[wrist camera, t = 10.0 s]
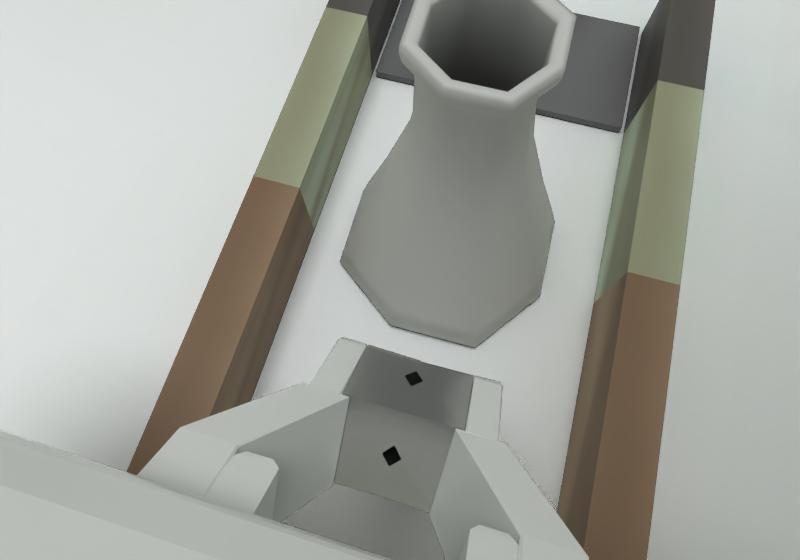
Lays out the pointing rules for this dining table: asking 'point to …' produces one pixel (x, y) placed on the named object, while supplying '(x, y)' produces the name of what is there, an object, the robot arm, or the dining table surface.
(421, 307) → the flask
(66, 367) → the dining table surface
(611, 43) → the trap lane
